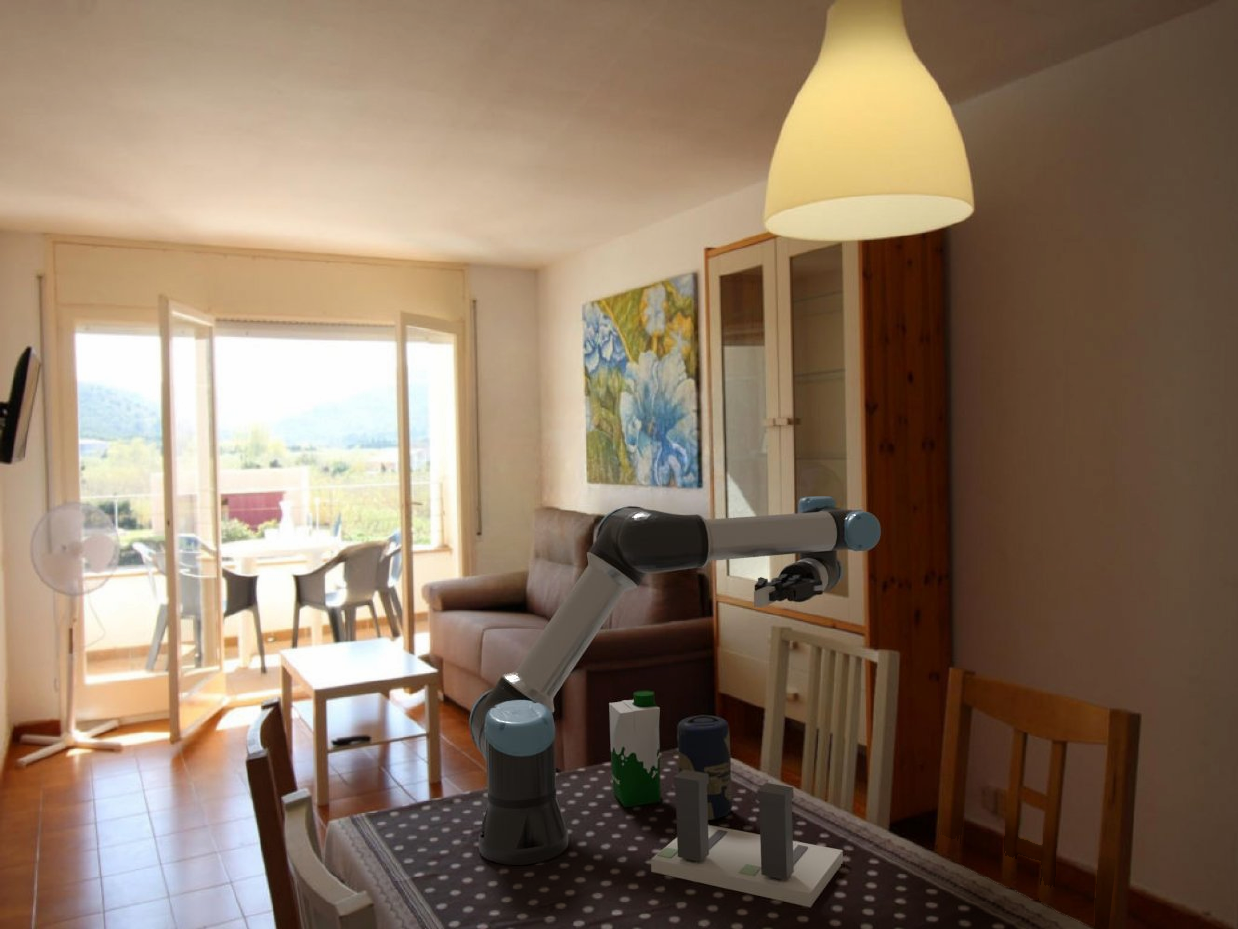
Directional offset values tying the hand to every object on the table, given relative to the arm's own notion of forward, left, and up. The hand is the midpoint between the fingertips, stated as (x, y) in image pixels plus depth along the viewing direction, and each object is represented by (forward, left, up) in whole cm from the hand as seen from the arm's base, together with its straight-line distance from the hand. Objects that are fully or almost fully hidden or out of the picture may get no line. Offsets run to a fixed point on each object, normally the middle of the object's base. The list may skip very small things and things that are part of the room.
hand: (758, 599), depth 164 cm
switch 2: (+10, -20, -38) cm, 44 cm away
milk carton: (-27, +3, -40) cm, 48 cm away
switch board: (+3, -15, -40) cm, 43 cm away
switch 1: (-4, -20, -37) cm, 43 cm away
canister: (-12, +2, -40) cm, 42 cm away
